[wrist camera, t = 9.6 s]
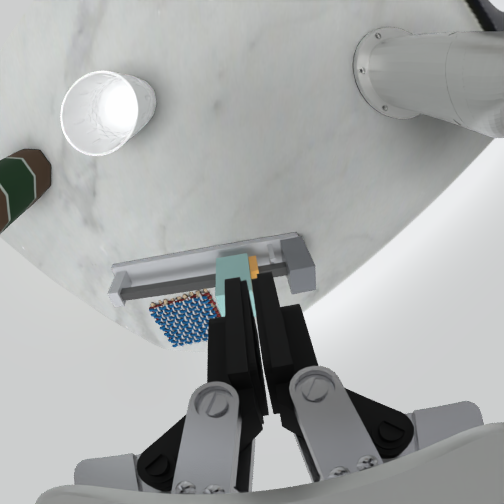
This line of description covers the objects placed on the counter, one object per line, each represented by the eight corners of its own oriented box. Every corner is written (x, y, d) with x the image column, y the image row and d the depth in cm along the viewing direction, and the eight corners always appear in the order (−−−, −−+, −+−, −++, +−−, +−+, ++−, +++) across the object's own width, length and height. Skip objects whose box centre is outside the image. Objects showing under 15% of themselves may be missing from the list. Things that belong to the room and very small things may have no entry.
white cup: (153, 140, 32) (129, 162, 24) (95, 131, 30) (56, 150, 22) (168, 77, 28) (147, 75, 20) (107, 69, 27) (67, 69, 18)
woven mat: (230, 329, 50) (231, 338, 49) (175, 341, 51) (174, 350, 49) (208, 284, 45) (208, 293, 43) (148, 300, 46) (145, 309, 44)
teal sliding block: (247, 253, 38) (252, 290, 32) (251, 277, 40) (257, 316, 34) (216, 258, 38) (215, 296, 32) (222, 282, 40) (223, 321, 34)
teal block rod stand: (299, 231, 41) (315, 264, 34) (301, 255, 43) (315, 291, 36) (112, 264, 41) (96, 299, 34) (122, 285, 43) (108, 321, 36)
